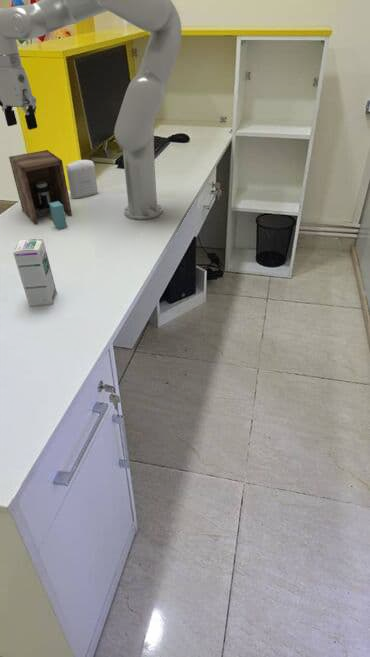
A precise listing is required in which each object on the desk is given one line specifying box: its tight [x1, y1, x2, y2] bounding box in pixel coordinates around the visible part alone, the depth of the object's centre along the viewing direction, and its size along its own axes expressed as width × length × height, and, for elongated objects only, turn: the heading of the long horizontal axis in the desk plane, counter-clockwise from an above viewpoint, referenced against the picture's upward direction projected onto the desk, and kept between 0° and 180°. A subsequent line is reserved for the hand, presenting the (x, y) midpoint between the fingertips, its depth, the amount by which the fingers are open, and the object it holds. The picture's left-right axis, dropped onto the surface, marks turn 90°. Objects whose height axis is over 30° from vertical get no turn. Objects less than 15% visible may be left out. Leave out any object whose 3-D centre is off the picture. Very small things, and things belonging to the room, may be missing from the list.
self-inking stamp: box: [33, 181, 51, 211], centre depth 149 cm, size 7×5×10 cm
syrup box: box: [12, 238, 57, 306], centre depth 104 cm, size 6×6×14 cm
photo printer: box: [65, 159, 99, 200], centre depth 160 cm, size 10×4×12 cm, turn 123°
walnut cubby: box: [8, 149, 73, 226], centre depth 146 cm, size 14×13×18 cm
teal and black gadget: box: [33, 198, 68, 230], centre depth 145 cm, size 21×10×7 cm, turn 32°
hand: (22, 126), depth 136 cm, fingers open, 9 cm apart
